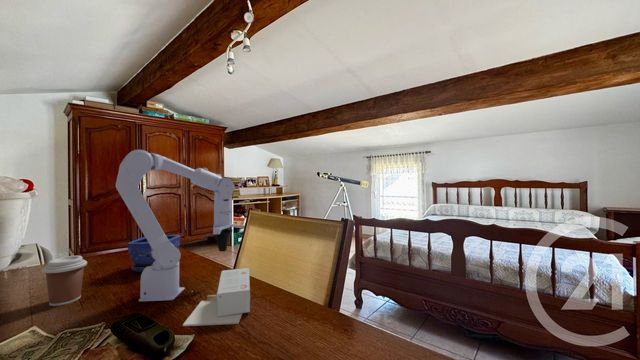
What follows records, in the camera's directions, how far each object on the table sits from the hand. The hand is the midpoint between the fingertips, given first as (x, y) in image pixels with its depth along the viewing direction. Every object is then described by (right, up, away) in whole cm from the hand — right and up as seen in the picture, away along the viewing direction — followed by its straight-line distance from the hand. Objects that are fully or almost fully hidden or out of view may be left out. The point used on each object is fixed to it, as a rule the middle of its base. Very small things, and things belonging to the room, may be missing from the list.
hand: (222, 250), depth 88 cm
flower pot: (-31, -11, +12) cm, 35 cm away
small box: (+8, -5, -11) cm, 15 cm away
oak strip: (+7, -10, -14) cm, 19 cm away
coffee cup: (-40, -10, -15) cm, 44 cm away
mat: (+7, -10, -21) cm, 24 cm away
